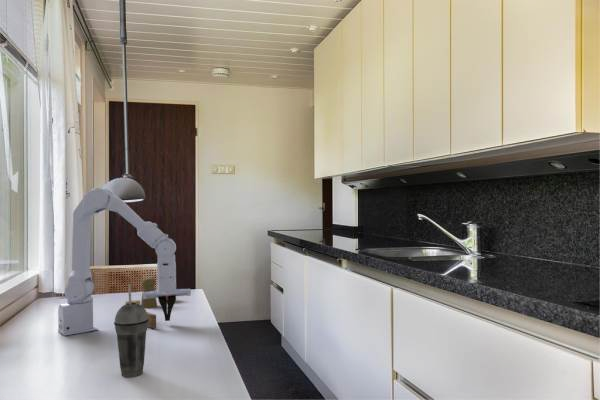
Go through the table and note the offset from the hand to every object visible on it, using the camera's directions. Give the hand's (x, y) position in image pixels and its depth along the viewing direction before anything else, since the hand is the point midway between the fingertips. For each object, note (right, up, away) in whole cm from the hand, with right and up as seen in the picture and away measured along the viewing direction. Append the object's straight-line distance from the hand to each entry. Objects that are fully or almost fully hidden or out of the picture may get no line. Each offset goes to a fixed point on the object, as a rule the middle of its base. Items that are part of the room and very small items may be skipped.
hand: (167, 320), depth 149 cm
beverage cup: (+5, -1, -44) cm, 45 cm away
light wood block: (-13, -2, +7) cm, 15 cm away
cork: (-16, -3, +30) cm, 34 cm away
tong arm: (-7, -1, 0) cm, 7 cm away
